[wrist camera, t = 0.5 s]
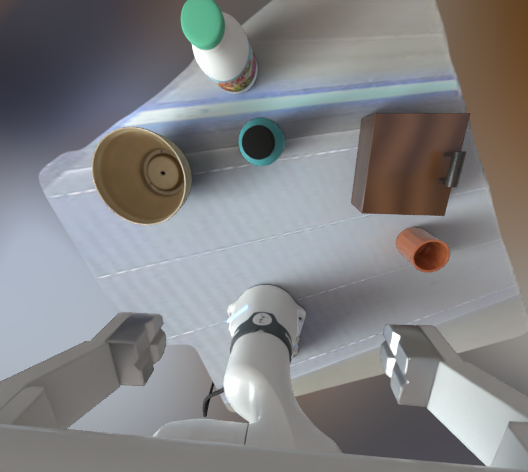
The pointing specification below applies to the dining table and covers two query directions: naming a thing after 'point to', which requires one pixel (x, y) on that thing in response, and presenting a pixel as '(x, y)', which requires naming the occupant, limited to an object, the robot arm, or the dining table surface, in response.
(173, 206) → the planter bowl
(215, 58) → the milk bottle
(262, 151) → the beverage bottle
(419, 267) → the cup
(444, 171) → the lid
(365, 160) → the box
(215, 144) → the dining table surface
